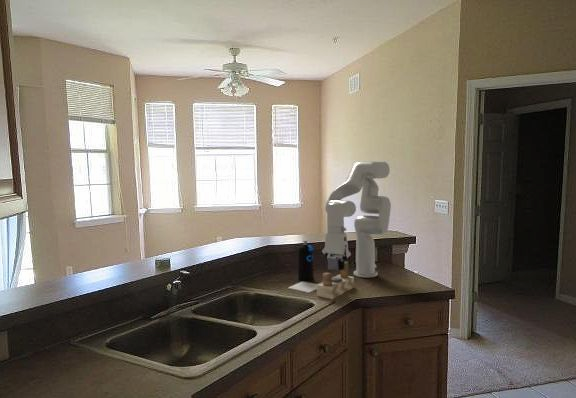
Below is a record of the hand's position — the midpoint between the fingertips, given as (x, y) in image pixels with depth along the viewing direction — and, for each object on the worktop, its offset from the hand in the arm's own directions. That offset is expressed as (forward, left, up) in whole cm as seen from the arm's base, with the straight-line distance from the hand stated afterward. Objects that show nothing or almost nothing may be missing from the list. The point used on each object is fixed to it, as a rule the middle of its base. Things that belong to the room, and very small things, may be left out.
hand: (336, 268), depth 175 cm
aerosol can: (-8, -23, -11) cm, 27 cm away
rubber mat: (+4, -15, -11) cm, 19 cm away
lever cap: (0, 0, 0) cm, 0 cm away
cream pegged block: (+1, 0, -11) cm, 11 cm away
